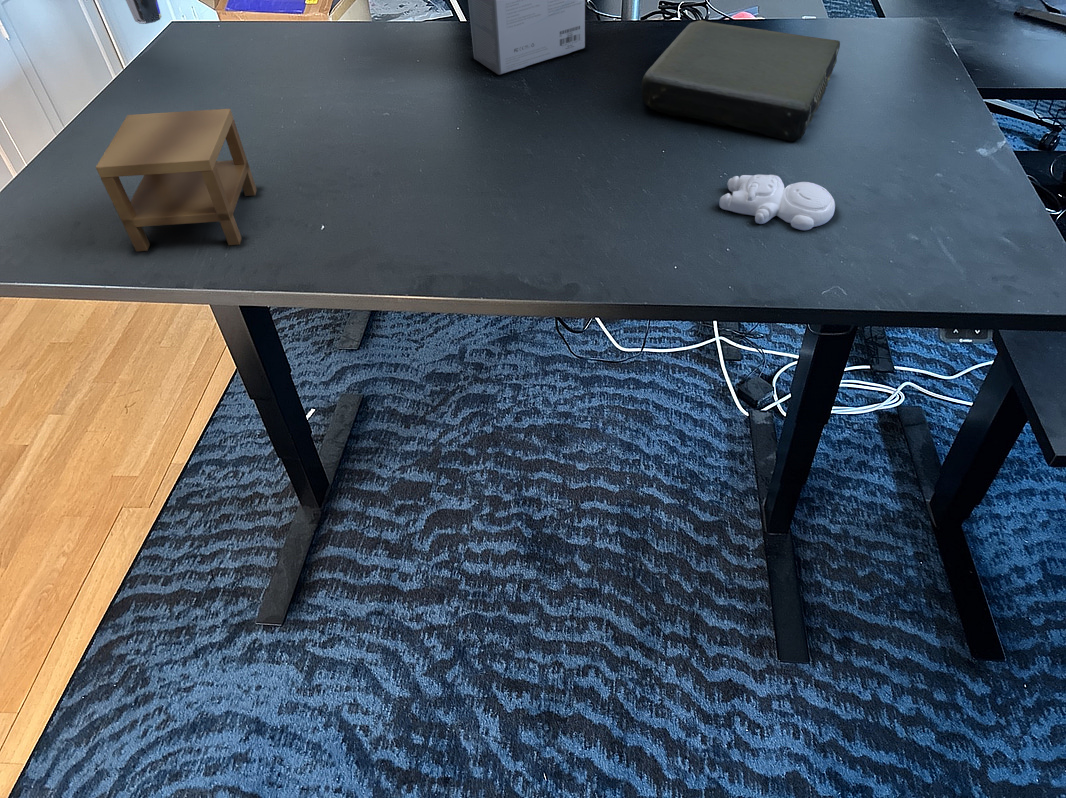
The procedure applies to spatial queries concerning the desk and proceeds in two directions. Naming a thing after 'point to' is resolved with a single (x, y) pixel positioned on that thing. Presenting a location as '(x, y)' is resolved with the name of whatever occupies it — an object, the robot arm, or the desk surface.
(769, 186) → the astronaut figurine
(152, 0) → the milkshake
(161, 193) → the wooden side table
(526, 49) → the hard drive box
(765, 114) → the network switch
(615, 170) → the desk surface
